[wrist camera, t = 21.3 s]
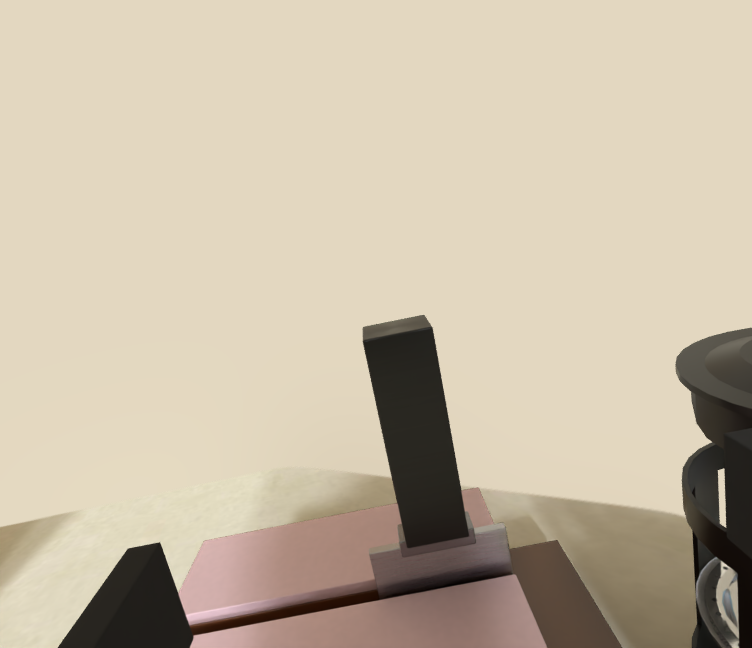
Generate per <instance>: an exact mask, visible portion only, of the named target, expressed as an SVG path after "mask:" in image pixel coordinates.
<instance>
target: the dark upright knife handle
mask: <svg viewBox="0 0 752 648" xmlns="http://www.w3.org/2000/svg"><path fill="white" fill-rule="evenodd" d="M363 345H364V350H365V354H366V359H367V364H368V368H369V372H370V378H371V382H372V387H373V391H374V396H375V401H376V406H377V410H378V415H379V420H380V424H381V429H382V434H383V439H384V443H385V448H386V453H387V457H388V462H389V466H390V471H391V476H392V481H393V485H394V490H395V495H396V499H397V504H398V509H399V514H400V518H401V523H402V524H399V525H397V529H398V538H399V543H394V544H388V545H383V546H378V547H373V548H369V556H370V560H371V565H372V569H373V573H374V577H375V582H376V586H377V590H378V594H379V599H380V600H383V599H388V598H393V597H398V596H404V595H409V594H414V593H419V592H425V591H430V590H435V589H440V588H446V587H451V586H456V585H461V584H467V583H472V582H477V581H482V580H487V579H493V578H498V577H503V576H508V575H513V570H512V563H511V557H510V551H509V544H508V538H507V531H506V527H505V525H504V523H503V522H502V523H497V524H492V525H487V526H481V527H476V528H474V527H473V524H472V521H471V519H470V516H469V513H468V512H467V511H466V512H465V509H464V503H463V497H462V492H461V486H460V480H459V475H458V470H457V464H456V458H455V452H454V447H453V441H452V435H451V429H450V424H449V418H448V413H447V407H446V401H445V396H444V390H443V384H442V379H441V373H440V367H439V362H438V356H437V350H436V345H435V339H434V333H433V328H432V326H431V325H430V323H429V322H428V320H427V318H426V317H425V315H420V316H415V317H411V318H405V319H401V320H396V321H391V322H385V323H381V324H376V325H371V326H366V327H363Z"/></svg>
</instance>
